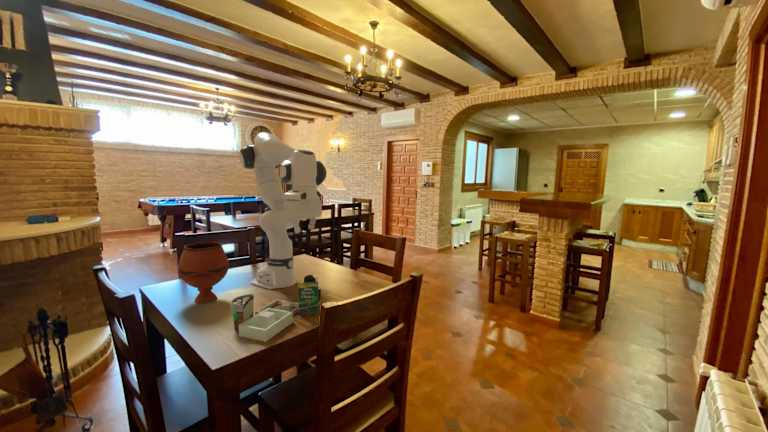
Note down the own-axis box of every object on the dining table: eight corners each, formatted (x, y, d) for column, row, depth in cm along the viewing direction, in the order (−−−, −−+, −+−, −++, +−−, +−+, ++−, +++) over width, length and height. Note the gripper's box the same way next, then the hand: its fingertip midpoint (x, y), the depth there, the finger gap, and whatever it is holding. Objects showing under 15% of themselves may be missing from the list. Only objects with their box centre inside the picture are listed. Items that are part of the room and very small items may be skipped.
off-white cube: (259, 328, 112) (258, 315, 112) (266, 324, 116) (266, 311, 115) (268, 330, 111) (268, 317, 110) (275, 325, 115) (275, 312, 114)
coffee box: (297, 315, 125) (297, 283, 124) (298, 312, 128) (298, 281, 127) (317, 315, 126) (318, 283, 125) (318, 312, 129) (318, 281, 127)
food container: (238, 318, 121) (237, 293, 120) (254, 318, 122) (254, 293, 121) (224, 333, 109) (223, 306, 108) (243, 333, 110) (242, 306, 109)
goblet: (169, 304, 133) (166, 246, 130) (209, 289, 151) (207, 238, 148) (201, 312, 126) (198, 251, 123) (239, 296, 144) (237, 242, 141)
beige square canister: (304, 306, 134) (304, 279, 133) (300, 300, 141) (300, 274, 139) (320, 303, 138) (321, 277, 136) (316, 298, 144) (316, 272, 143)
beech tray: (255, 315, 125) (255, 311, 124) (276, 302, 137) (276, 299, 137) (284, 320, 120) (284, 317, 120) (303, 307, 133) (303, 304, 133)
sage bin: (238, 336, 108) (238, 325, 108) (268, 317, 123) (268, 307, 122) (265, 341, 105) (265, 330, 104) (292, 322, 119) (292, 312, 119)
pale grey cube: (280, 314, 126) (280, 306, 126) (283, 310, 130) (283, 302, 129) (289, 314, 126) (289, 306, 126) (291, 310, 130) (291, 302, 129)
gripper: (311, 192, 127) (311, 226, 129) (280, 194, 108) (281, 234, 109) (325, 193, 125) (325, 227, 127) (296, 195, 106) (296, 235, 107)
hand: (304, 230), depth 118 cm, fingers open, 8 cm apart
